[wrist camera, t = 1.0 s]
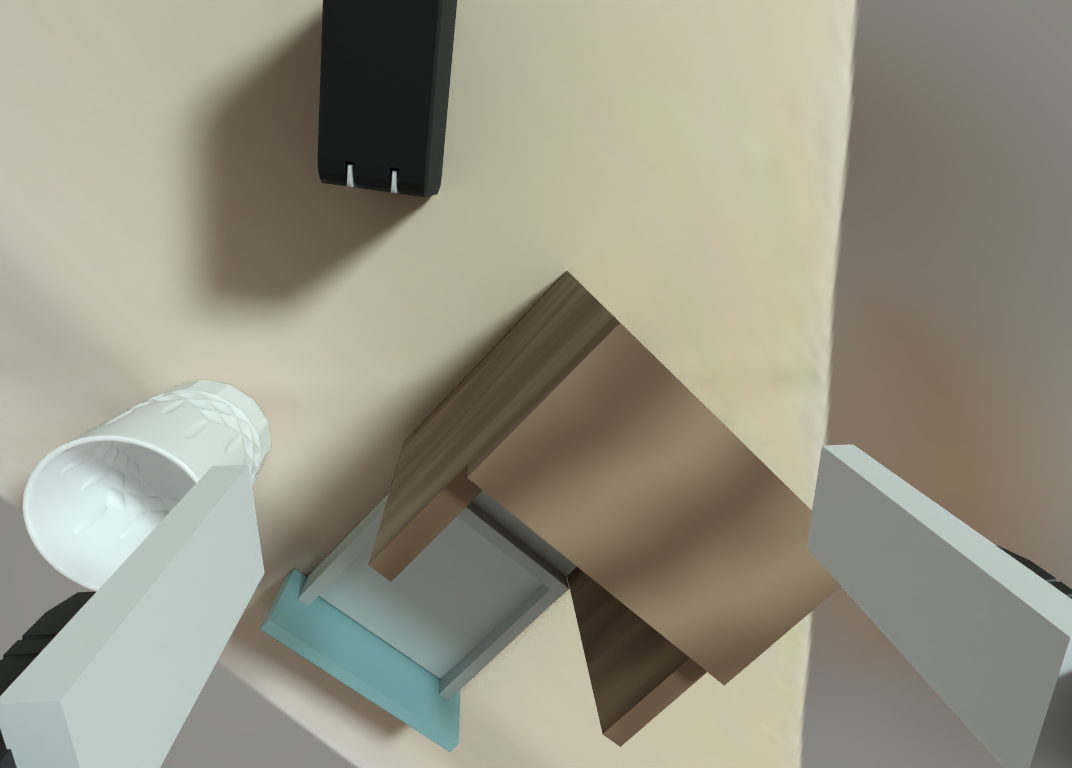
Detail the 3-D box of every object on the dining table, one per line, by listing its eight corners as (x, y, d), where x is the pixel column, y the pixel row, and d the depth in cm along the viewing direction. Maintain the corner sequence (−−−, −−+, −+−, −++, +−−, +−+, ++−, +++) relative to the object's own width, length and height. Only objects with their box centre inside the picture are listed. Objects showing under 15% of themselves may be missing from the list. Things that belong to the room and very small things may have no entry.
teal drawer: (286, 576, 40) (260, 629, 35) (427, 429, 38) (419, 464, 33) (453, 690, 44) (449, 752, 39) (589, 562, 42) (603, 611, 37)
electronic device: (458, -17, 31) (450, -104, 22) (440, 194, 34) (425, 197, 25) (372, -32, 31) (324, -129, 21) (360, 183, 34) (314, 182, 24)
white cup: (289, 492, 39) (227, 594, 29) (153, 497, 38) (44, 602, 28) (273, 367, 36) (201, 433, 27) (128, 370, 36) (0, 438, 26)
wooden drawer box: (403, 441, 38) (362, 583, 25) (566, 270, 36) (619, 323, 22) (578, 581, 42) (626, 769, 29) (735, 435, 40) (866, 564, 26)
